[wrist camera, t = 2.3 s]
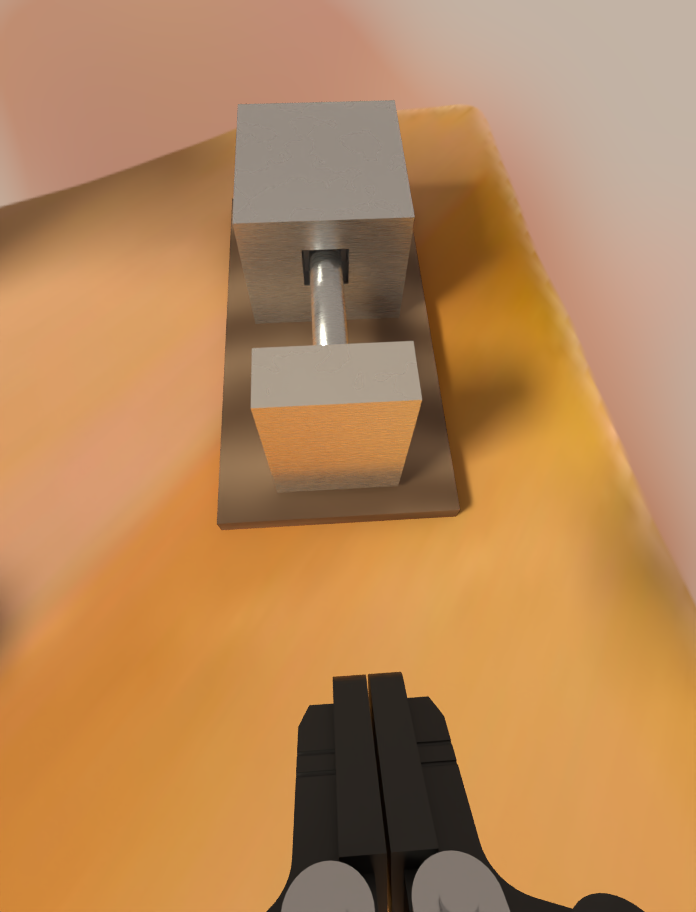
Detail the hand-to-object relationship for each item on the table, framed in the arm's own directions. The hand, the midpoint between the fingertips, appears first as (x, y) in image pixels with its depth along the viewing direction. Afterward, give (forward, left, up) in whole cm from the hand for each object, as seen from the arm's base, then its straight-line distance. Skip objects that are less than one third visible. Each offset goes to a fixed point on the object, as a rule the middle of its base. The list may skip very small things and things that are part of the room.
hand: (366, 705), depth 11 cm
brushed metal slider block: (-12, +17, -15) cm, 26 cm away
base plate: (-13, +19, -17) cm, 28 cm away
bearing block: (-17, +24, -15) cm, 33 cm away
